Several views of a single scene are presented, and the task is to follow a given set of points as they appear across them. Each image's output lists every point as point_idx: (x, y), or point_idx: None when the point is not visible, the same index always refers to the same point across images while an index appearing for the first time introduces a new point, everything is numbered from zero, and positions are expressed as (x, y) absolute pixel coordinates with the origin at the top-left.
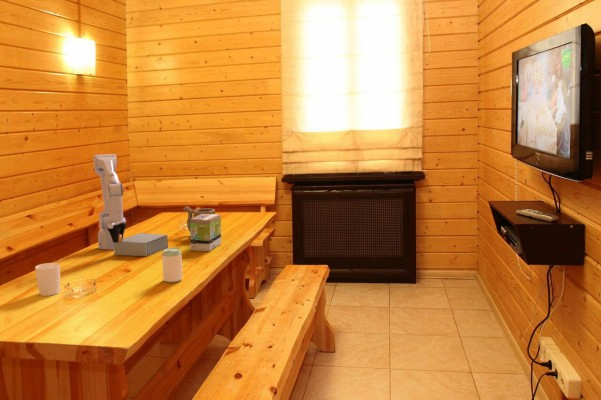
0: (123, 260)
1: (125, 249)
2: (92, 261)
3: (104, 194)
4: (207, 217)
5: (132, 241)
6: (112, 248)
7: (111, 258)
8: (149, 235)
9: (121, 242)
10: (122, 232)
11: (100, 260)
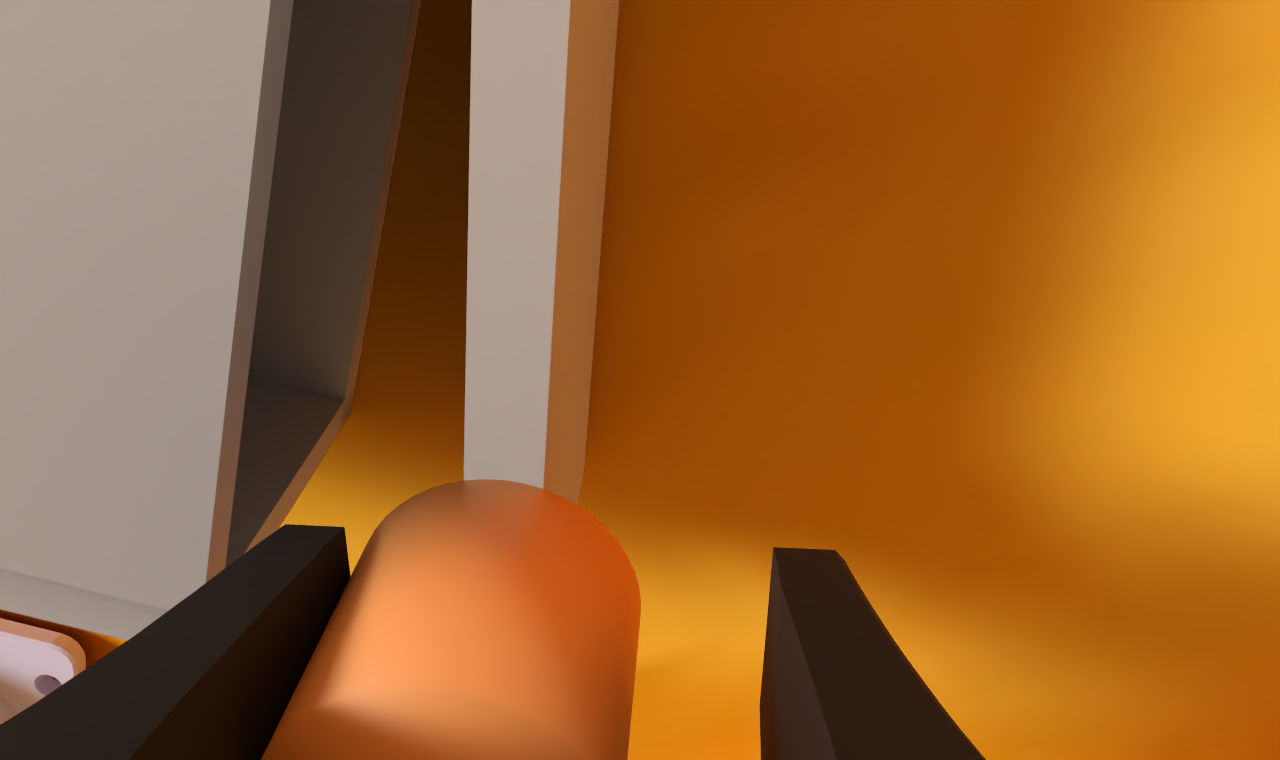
0: (1130, 28)
1: (586, 206)
2: (1103, 747)
3: None
4: None
5: (239, 44)
6: (30, 702)
7: (858, 445)
8: None
9: (549, 457)
10: (163, 758)
11: (1034, 624)
